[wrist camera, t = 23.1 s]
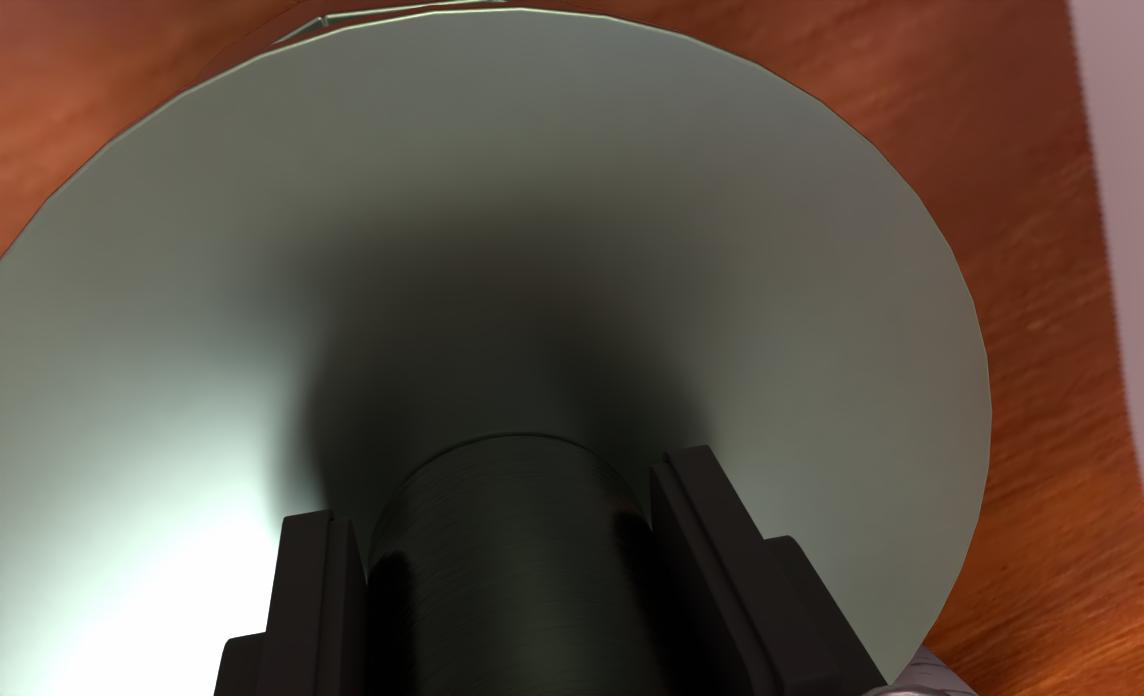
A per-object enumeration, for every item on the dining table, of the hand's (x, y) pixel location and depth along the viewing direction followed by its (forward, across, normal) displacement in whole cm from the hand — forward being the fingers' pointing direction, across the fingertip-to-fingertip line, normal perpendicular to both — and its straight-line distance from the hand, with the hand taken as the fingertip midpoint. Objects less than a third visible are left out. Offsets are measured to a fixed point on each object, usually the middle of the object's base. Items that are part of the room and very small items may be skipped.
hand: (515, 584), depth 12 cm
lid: (+1, 0, 0) cm, 1 cm away
